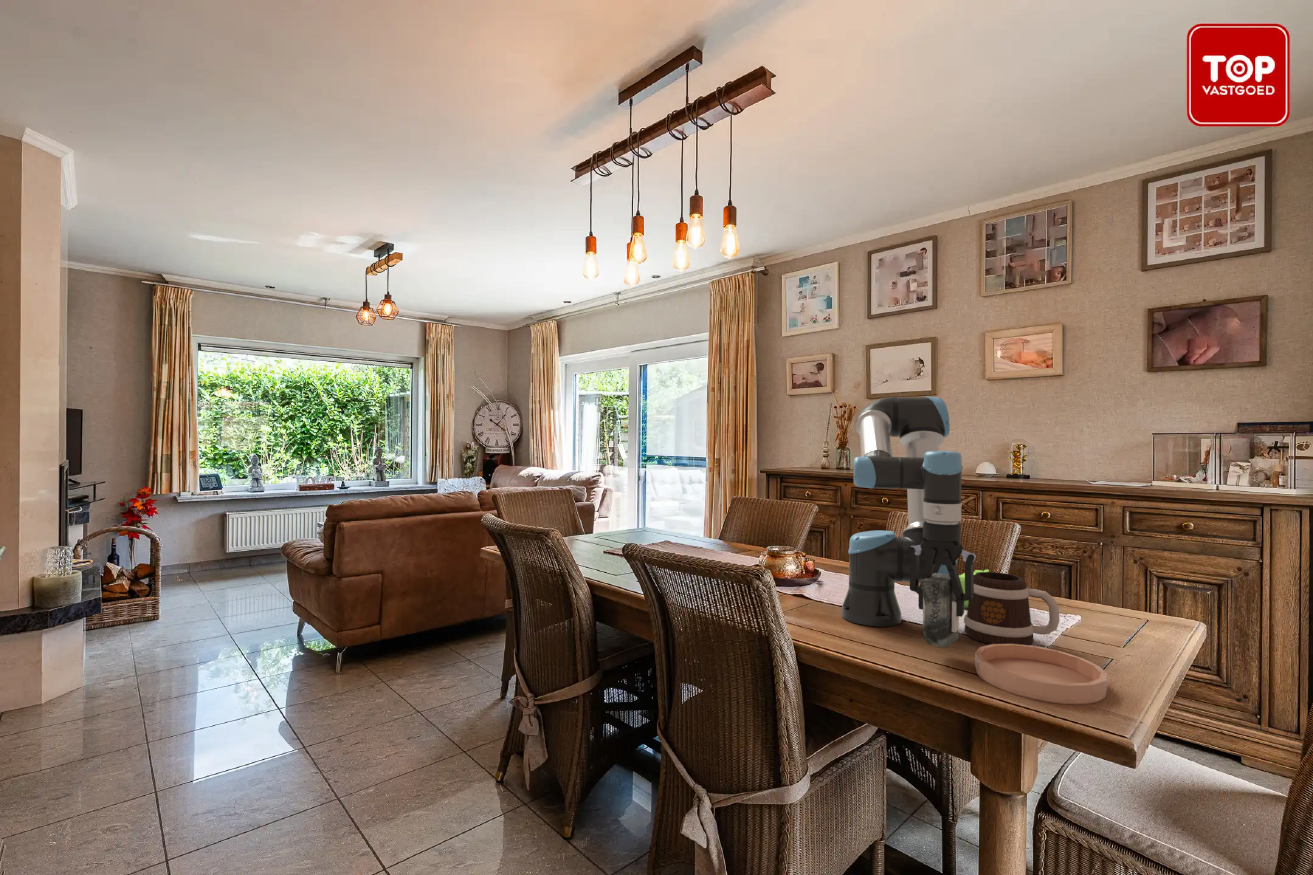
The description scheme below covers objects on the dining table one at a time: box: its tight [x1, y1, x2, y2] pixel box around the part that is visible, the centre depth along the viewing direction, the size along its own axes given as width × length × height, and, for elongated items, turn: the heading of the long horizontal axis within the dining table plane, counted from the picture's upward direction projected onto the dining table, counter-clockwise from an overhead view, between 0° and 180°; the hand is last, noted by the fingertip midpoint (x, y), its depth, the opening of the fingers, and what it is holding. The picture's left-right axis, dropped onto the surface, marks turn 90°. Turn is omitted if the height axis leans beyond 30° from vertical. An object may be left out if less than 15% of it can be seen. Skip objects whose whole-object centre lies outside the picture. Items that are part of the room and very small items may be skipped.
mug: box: [963, 571, 1060, 646], centre depth 145 cm, size 20×15×15 cm
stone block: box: [920, 573, 960, 648], centre depth 132 cm, size 9×14×5 cm
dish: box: [974, 644, 1108, 706], centre depth 121 cm, size 22×22×4 cm
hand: (940, 627), depth 132 cm, fingers closed on stone block, 5 cm apart
